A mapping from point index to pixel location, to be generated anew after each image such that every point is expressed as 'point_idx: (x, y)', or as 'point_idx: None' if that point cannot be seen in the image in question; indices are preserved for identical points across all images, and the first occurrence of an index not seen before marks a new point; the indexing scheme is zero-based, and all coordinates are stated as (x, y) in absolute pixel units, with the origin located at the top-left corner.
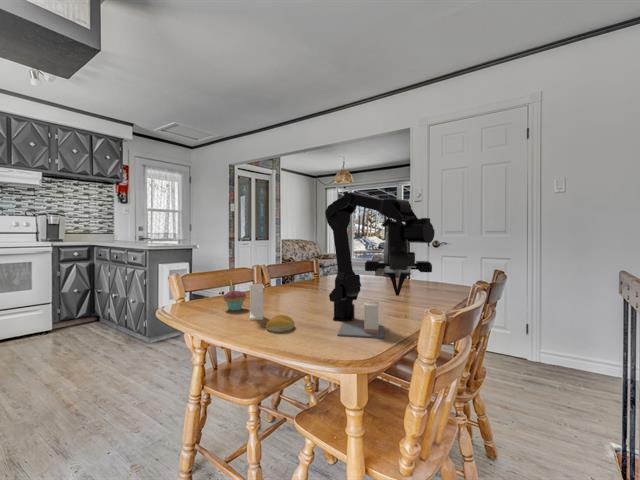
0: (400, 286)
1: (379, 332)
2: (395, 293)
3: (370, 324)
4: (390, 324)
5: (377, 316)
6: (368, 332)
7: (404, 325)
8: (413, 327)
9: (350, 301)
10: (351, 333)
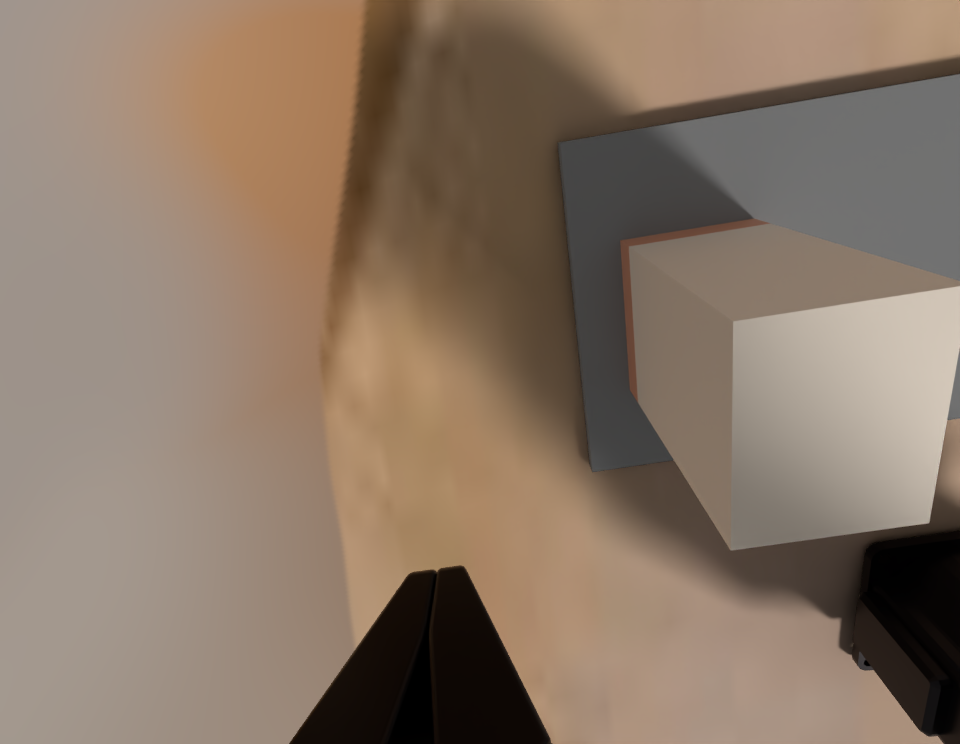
0: (329, 731)
1: (610, 264)
2: (472, 585)
3: (728, 241)
4: (540, 556)
5: (683, 275)
6: (714, 225)
7: (429, 564)
8: (353, 536)
9: None
10: (883, 133)
